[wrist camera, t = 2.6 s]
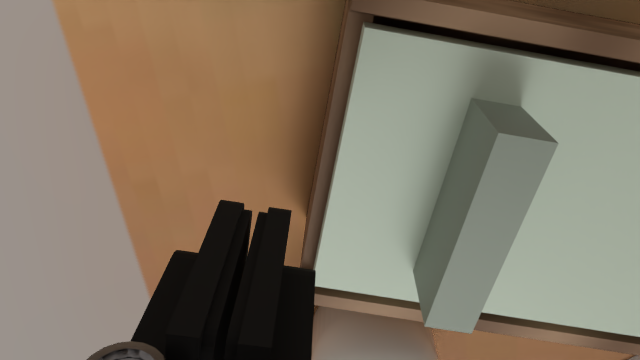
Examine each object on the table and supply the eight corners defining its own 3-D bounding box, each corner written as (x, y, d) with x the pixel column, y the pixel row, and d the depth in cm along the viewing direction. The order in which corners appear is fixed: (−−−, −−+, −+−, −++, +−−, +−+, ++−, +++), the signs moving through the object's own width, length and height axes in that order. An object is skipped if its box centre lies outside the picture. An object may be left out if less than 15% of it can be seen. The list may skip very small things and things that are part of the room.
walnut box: (731, 41, 19) (888, 86, 13) (599, 265, 25) (671, 360, 19) (351, -29, 18) (354, -13, 13) (306, 218, 24) (295, 302, 19)
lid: (817, 103, 15) (955, 153, 11) (658, 323, 20) (723, 404, 16) (363, 21, 14) (369, 49, 11) (313, 269, 19) (306, 341, 16)
